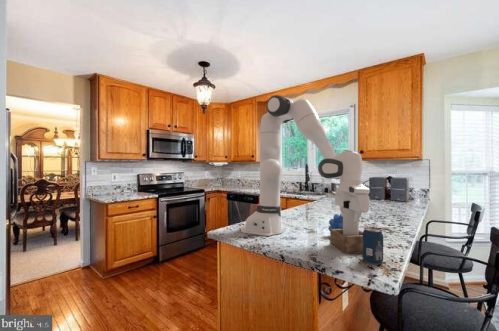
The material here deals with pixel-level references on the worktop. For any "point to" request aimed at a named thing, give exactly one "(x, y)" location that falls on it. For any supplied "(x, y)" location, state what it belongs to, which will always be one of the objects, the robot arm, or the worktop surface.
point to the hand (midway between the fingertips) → (349, 219)
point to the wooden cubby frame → (346, 241)
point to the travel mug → (349, 221)
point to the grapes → (336, 222)
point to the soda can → (372, 245)
